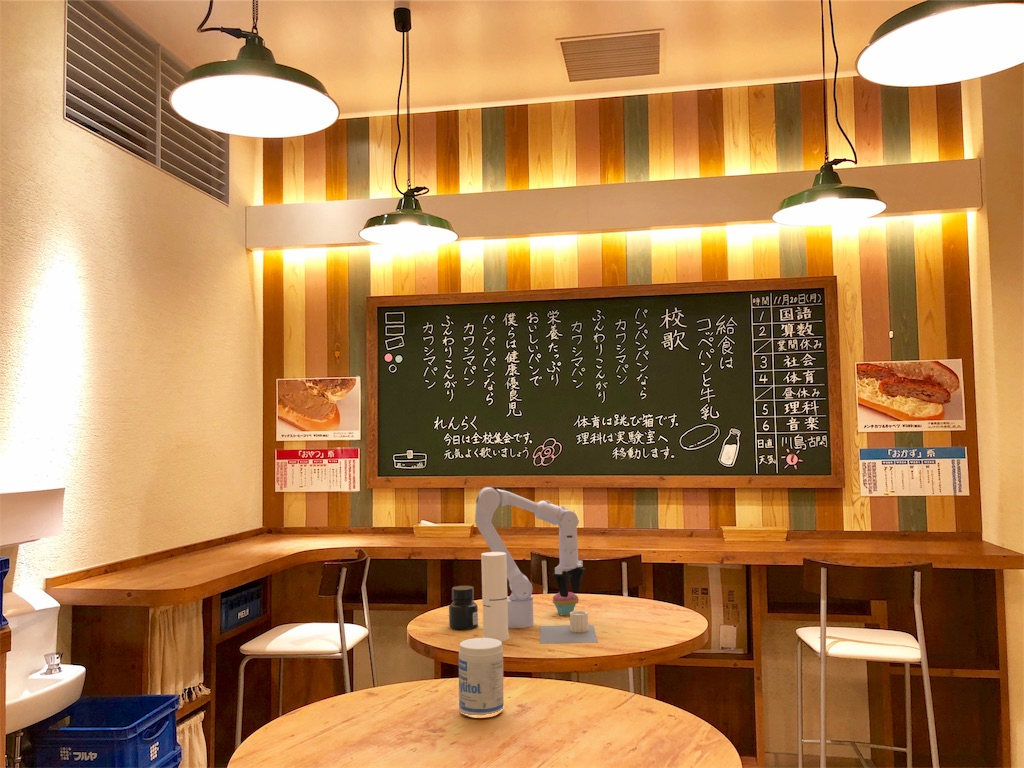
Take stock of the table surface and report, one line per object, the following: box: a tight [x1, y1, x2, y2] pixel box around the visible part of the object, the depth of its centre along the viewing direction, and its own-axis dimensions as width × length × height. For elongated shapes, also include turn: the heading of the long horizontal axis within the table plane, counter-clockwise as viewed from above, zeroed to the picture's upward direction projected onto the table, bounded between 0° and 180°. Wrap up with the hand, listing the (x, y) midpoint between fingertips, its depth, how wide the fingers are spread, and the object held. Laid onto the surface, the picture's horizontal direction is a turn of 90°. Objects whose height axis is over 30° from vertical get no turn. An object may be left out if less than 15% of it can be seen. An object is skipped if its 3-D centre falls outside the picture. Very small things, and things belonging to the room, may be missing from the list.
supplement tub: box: [458, 637, 505, 715], centre depth 173 cm, size 10×10×15 cm
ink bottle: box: [448, 585, 479, 631], centre depth 249 cm, size 10×9×12 cm
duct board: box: [539, 624, 599, 645], centre depth 233 cm, size 16×20×6 cm
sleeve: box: [569, 610, 589, 632], centre depth 237 cm, size 5×5×5 cm
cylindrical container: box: [480, 551, 510, 643], centre depth 230 cm, size 7×7×25 cm
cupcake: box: [552, 591, 580, 616], centre depth 263 cm, size 9×8×12 cm
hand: (570, 594), depth 247 cm, fingers open, 7 cm apart
